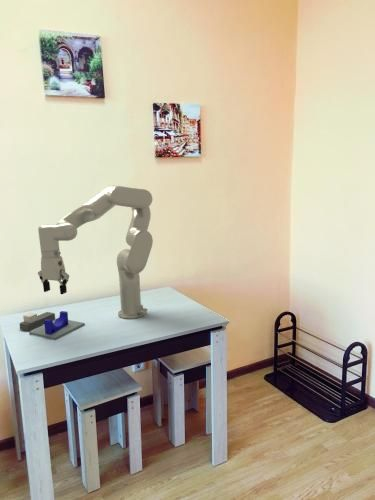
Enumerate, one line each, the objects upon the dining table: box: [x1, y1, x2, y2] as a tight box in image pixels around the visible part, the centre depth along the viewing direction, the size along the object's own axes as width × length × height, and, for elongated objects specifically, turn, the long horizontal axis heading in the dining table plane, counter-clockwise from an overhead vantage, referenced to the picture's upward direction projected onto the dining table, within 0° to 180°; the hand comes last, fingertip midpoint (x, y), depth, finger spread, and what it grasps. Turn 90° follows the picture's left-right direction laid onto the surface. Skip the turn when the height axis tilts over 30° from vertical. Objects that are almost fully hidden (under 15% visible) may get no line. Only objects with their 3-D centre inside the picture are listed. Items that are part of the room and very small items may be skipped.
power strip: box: [19, 311, 56, 332], centre depth 189 cm, size 5×16×6 cm, turn 152°
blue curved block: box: [44, 310, 69, 334], centre depth 181 cm, size 12×4×6 cm, turn 160°
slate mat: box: [28, 319, 86, 341], centre depth 183 cm, size 15×18×1 cm
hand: (55, 292), depth 180 cm, fingers open, 9 cm apart
